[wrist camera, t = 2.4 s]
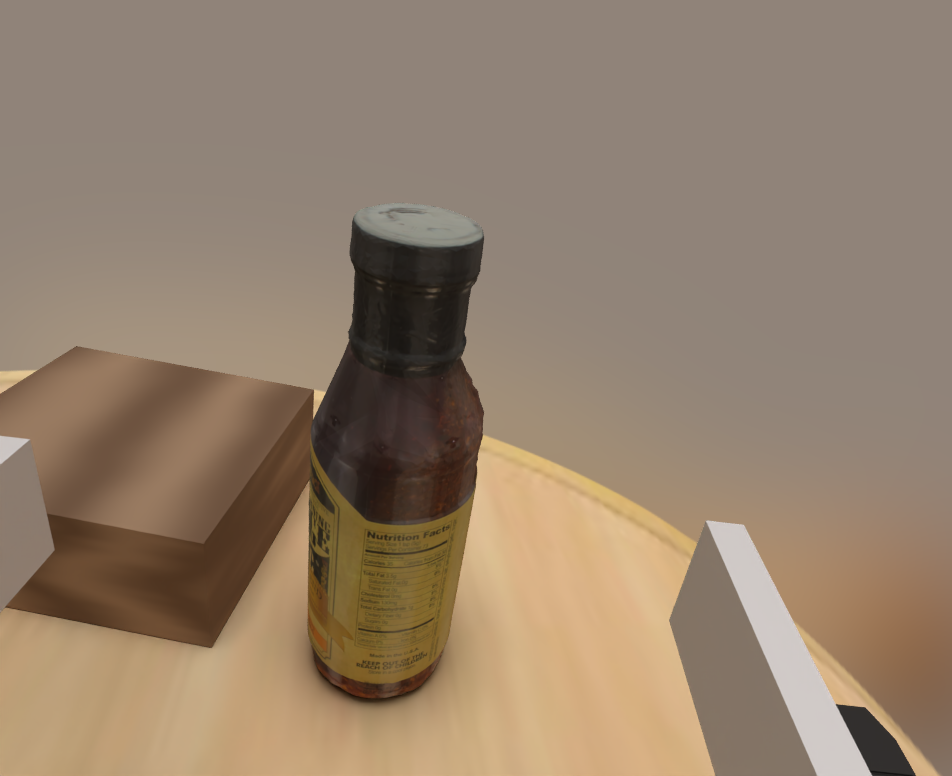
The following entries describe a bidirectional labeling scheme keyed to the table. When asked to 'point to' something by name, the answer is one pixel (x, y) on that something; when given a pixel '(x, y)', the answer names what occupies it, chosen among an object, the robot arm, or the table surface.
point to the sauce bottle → (395, 454)
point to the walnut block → (156, 487)
